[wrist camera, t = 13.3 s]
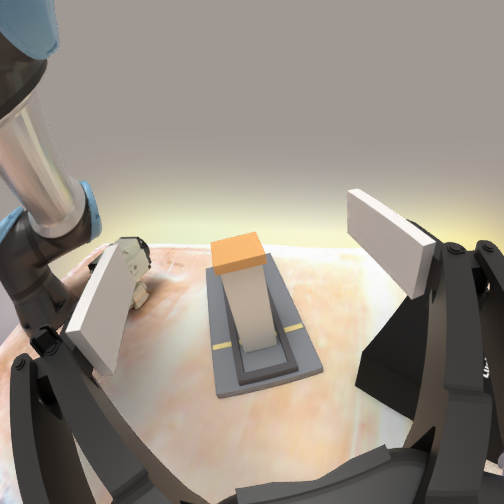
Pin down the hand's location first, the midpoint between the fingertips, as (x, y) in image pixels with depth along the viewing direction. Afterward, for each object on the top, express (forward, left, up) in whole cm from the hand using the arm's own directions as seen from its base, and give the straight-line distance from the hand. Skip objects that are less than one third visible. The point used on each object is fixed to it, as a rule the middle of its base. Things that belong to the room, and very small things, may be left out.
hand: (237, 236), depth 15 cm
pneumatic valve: (-31, -4, -20) cm, 37 cm away
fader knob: (-9, +5, -19) cm, 22 cm away
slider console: (-14, +8, -20) cm, 26 cm away
